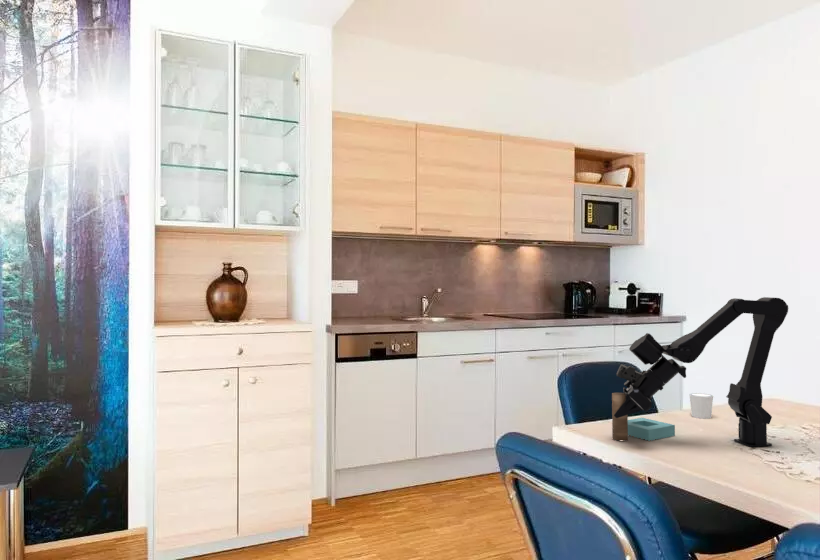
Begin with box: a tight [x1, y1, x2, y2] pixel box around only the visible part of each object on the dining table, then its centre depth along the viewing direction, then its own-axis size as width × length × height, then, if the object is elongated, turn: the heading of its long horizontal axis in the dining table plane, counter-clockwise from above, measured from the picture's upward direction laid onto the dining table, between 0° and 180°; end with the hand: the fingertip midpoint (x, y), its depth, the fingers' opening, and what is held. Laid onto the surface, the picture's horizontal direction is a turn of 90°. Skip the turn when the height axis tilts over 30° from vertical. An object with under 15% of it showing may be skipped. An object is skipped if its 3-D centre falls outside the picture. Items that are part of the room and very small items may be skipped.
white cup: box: [689, 392, 714, 419], centre depth 192 cm, size 7×7×7 cm
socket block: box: [628, 417, 676, 442], centre depth 170 cm, size 11×11×3 cm
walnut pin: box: [611, 392, 629, 441], centre depth 165 cm, size 4×4×12 cm
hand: (614, 415), depth 165 cm, fingers closed on walnut pin, 4 cm apart
